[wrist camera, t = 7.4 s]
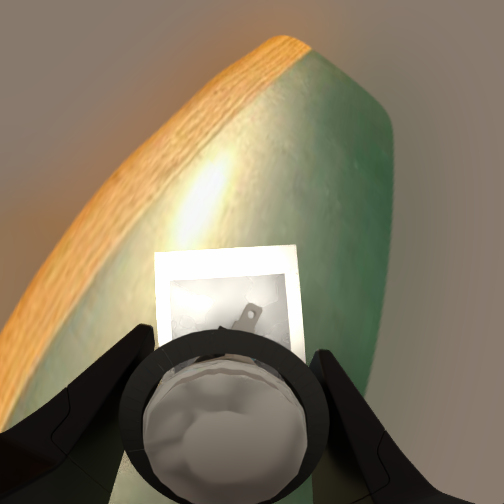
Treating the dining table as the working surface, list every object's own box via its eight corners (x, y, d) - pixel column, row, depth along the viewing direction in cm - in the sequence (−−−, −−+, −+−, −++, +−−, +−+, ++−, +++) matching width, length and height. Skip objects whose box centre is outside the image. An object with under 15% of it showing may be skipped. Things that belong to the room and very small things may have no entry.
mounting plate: (305, 429, 20) (309, 435, 19) (173, 438, 19) (169, 445, 18) (292, 248, 23) (296, 244, 22) (158, 256, 22) (154, 252, 21)
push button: (209, 284, 16) (199, 229, 6) (298, 329, 16) (403, 335, 6) (153, 391, 15) (78, 473, 5) (242, 434, 15) (276, 551, 5)
